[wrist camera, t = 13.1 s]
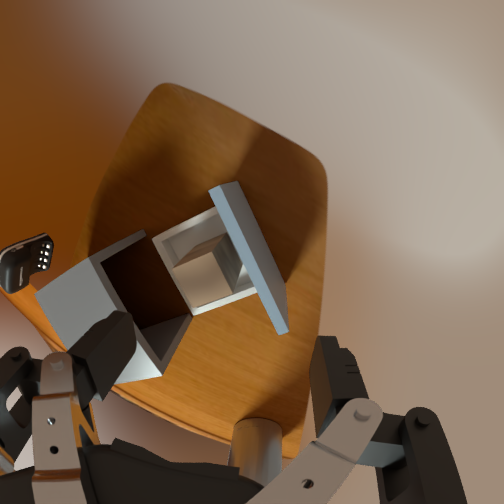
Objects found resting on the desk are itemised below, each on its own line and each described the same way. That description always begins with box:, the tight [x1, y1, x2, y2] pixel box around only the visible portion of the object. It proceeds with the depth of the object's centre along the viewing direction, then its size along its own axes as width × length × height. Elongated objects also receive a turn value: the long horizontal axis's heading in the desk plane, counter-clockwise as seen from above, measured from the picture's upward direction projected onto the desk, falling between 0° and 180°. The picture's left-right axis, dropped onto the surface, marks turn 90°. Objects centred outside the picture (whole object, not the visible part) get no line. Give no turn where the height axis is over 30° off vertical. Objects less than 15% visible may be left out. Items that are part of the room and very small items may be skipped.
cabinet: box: [34, 229, 192, 384], centre depth 30 cm, size 14×12×12 cm
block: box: [172, 232, 242, 308], centre depth 29 cm, size 4×4×8 cm
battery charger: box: [0, 233, 54, 294], centre depth 31 cm, size 7×4×11 cm, turn 148°
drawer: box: [152, 181, 289, 335], centre depth 28 cm, size 14×12×11 cm
